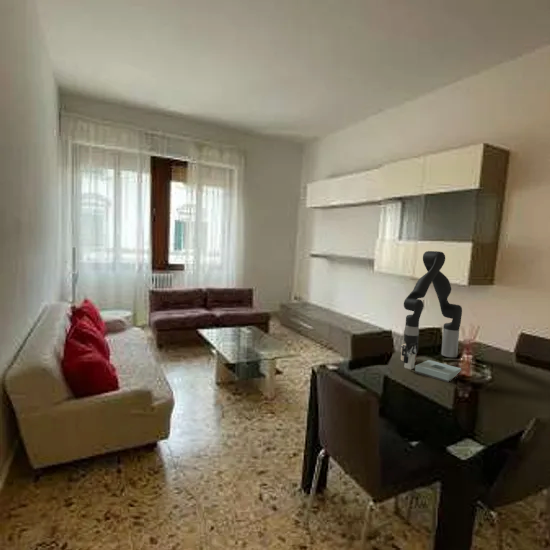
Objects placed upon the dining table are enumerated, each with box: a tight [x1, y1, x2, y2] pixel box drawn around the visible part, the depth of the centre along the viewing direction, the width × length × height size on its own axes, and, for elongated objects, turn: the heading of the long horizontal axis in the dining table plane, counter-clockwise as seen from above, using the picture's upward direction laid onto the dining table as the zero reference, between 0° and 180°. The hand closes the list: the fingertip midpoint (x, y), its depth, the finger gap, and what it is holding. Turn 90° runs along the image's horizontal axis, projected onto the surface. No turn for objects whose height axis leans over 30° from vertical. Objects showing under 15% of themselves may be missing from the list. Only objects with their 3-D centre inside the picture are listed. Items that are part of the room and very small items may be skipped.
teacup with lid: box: [400, 343, 417, 363], centre depth 226 cm, size 12×9×12 cm
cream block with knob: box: [403, 353, 416, 370], centre depth 212 cm, size 4×4×9 cm
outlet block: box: [414, 359, 462, 383], centre depth 203 cm, size 16×18×4 cm
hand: (409, 361), depth 212 cm, fingers open, 8 cm apart
